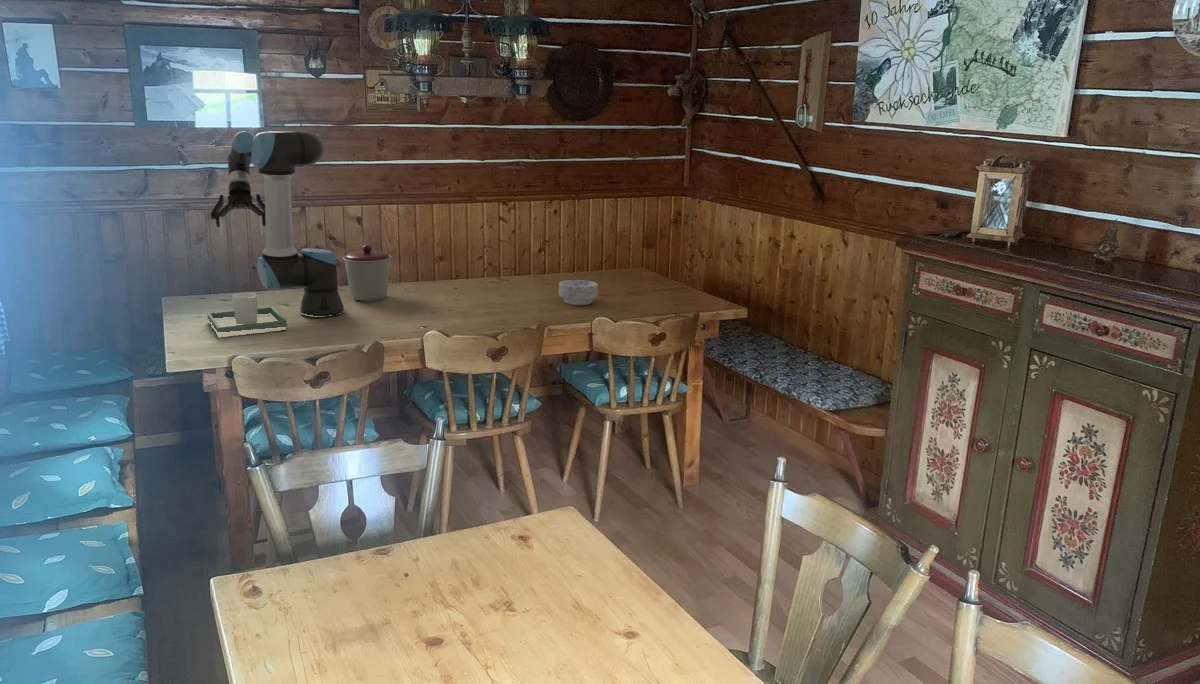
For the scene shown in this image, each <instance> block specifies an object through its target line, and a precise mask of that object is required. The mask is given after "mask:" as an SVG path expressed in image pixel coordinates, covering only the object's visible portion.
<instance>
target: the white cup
mask: <svg viewBox="0 0 1200 684" xmlns="http://www.w3.org/2000/svg"><path fill="white" fill-rule="evenodd" d="M231 299H232V300H231V301H232V306H233V311H234V314H235V319H236V323H237V324H243V325H244V324H254V323H257V308H258V294H257V293H255V292H239V293H233V294H232V296H231Z"/></svg>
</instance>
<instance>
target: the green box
mask: <svg viewBox="0 0 1200 684" xmlns="http://www.w3.org/2000/svg"><path fill="white" fill-rule="evenodd" d="M268 313H271V314H272V315H273V316H274V317H275V318H276V319H277V320H278V321H273V322H263V323H254V324H244V325H235V326H226V327H219V325H218V324H217V322H216V321H215V320H214V318H223V317H235V314H234V310H228V311H226V310H225V311H216V312H215V311H214V312H207V313H206V314H207V320H208V319H209V321H210V322H211V323H212V325H213V326H214V328H215V329H216V330H217V332H230V331H241V330H251V329H252V330H253V329H265V328H277V327H287V328H288V324H287V319H285V318H284V317H283V316H282V314H280V313H279V312H278V311H277V309H275V308H274V307H273V306H266V307H257V314H268Z"/></svg>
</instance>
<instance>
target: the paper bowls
mask: <svg viewBox="0 0 1200 684" xmlns="http://www.w3.org/2000/svg"><path fill="white" fill-rule="evenodd" d="M598 295H599V284H598V282H595V281H591V280H583V279H570V280H568V279H567V280H563V281H560V282H559V283H558V296H559V297H562V299H563V301H564V302H565V303H566V304H568V305H571V306H587V305H590V304H592V302H593V301H594V299H596V298H598Z"/></svg>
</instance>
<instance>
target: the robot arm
mask: <svg viewBox="0 0 1200 684" xmlns="http://www.w3.org/2000/svg"><path fill="white" fill-rule="evenodd" d="M324 153H325V146H324V143H323V141H322V139H321V138H320V137H319V136H317V135H315V134H314V133H311V132H308V131H272V130H271V131H264V132H259V133H257V134H255V135H254V134H253V133H251V132H247V131H245V130H244V131H239V132H237V133H236V134H235V136H234V138H233V141H232V143H231V149H230V150H229V151H228V153H227V160H226V163H227V170H228V171H227V172H228V173H227V174H228V176H227V178H228V196H224V195H223V194H220V195H219V199H218V201H217V203H216V204H215V206H214V208H213V209H212V210H211V212H210V219H211V220H215V224H216V225H215V226H216V227H217V228H219V233H220V237H223V235H224V234H223V233H224V231H223V218H224V217H225V216H226V215H227V214H228V213H230V212H231V211H233V209H234V208H236V209H240V208H243V209H246V208H248V209H249V210H251V211H252V212H253V213H254V214H256V215H257V216H258V217H259V223H260V224H259V225H260V226H259V227H260V228H259V229H260V235H264V227H265V235H266V236H265V238H266V247H264V248H263V249H262V252H261V253H262V256H259V257H257V258H256V269H257V274H258V277H259V279H260V282H261V283H262V286H263V287H264V288H265V289H266V290H270V291H274V290H275V291H276V290H278V291H282V290H286V289H295V288H303V296H302V300H301V304H300V308H299V309H300V310H299V312H301V313H303V314H307V315H313V316H329V315H336V314H339V313H342V312H343V311H344V312H345V307H344V304H343V302H342V299H341V296H340V293H339V290H338V289H339V288H338V272H337V271H338V269H337V264H338V263H337V257H336V254H335V253H334V252H333V251H331V250H330V249H329V250H328V249H324V248H323V249H322V248H316V247H315V248H312V247H311V248H307V247H306V248H302V249H301V251H300V253H299V252H298V250H297V249H296V248H295V247H294V243H293V242H294V240H293V239H294V238H293V210H292V209H293V208H292V181H291V179H292V177H293V176H294V175H295V174H296V168H299V167H300V168H302V167H307V166H308V167H309V166H313V165H315V164H317V163H318V162H319V161H321V159H322V158H323V156H324ZM251 162H252V165H253V167H254V168H255V169H257V170H258V174H259V175H260V176H261V177H262V178H263V191H264V193H263V194H264V195H263V196H264V202H263V200H262V199H261V195H260V194H259V193H257V194H256V195H255V196H254V195H253V196H252V187H251V175H250V174H251V173H250V171H251V170H250V167H251ZM227 201H228V203H227V204H226V205H225V206H224V204H225V203H226V202H227ZM252 201H254V202H255V203H256V204H257V205H258V206H259V207H258V206H257V205H255V204H254V203H253V202H252ZM342 314H343V313H342Z"/></svg>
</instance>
